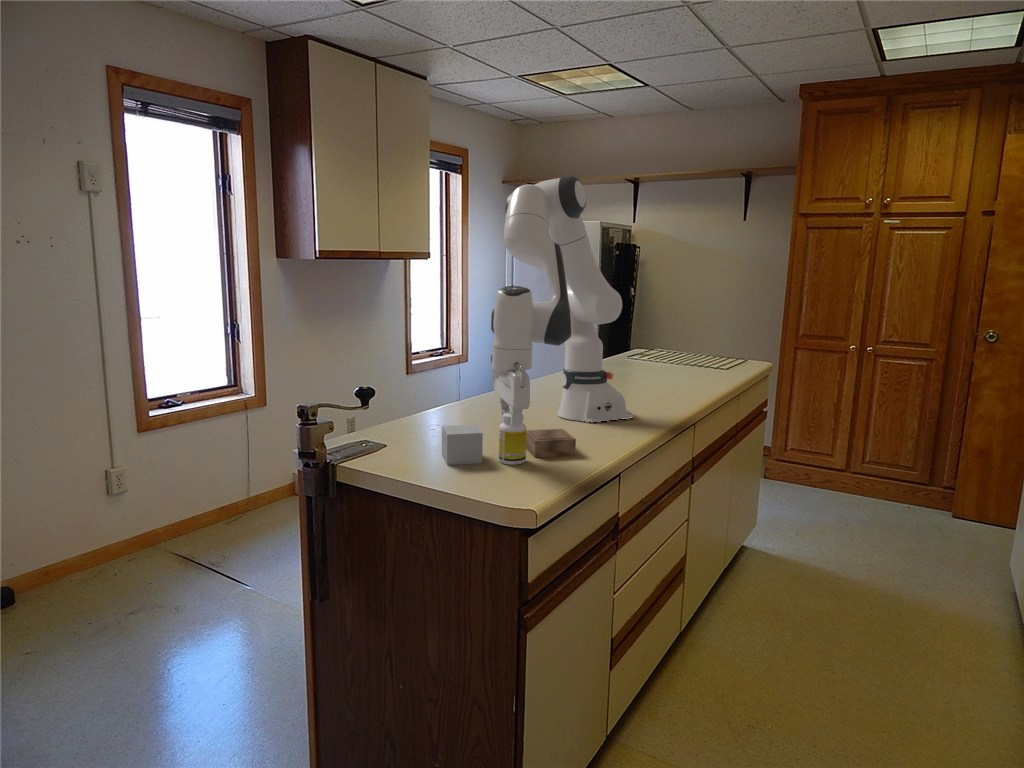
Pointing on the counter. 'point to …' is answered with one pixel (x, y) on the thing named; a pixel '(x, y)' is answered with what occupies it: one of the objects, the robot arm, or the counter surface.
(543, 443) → the walnut base
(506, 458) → the pill bottle
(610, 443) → the counter surface
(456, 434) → the grey pedestal
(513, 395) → the robot arm
